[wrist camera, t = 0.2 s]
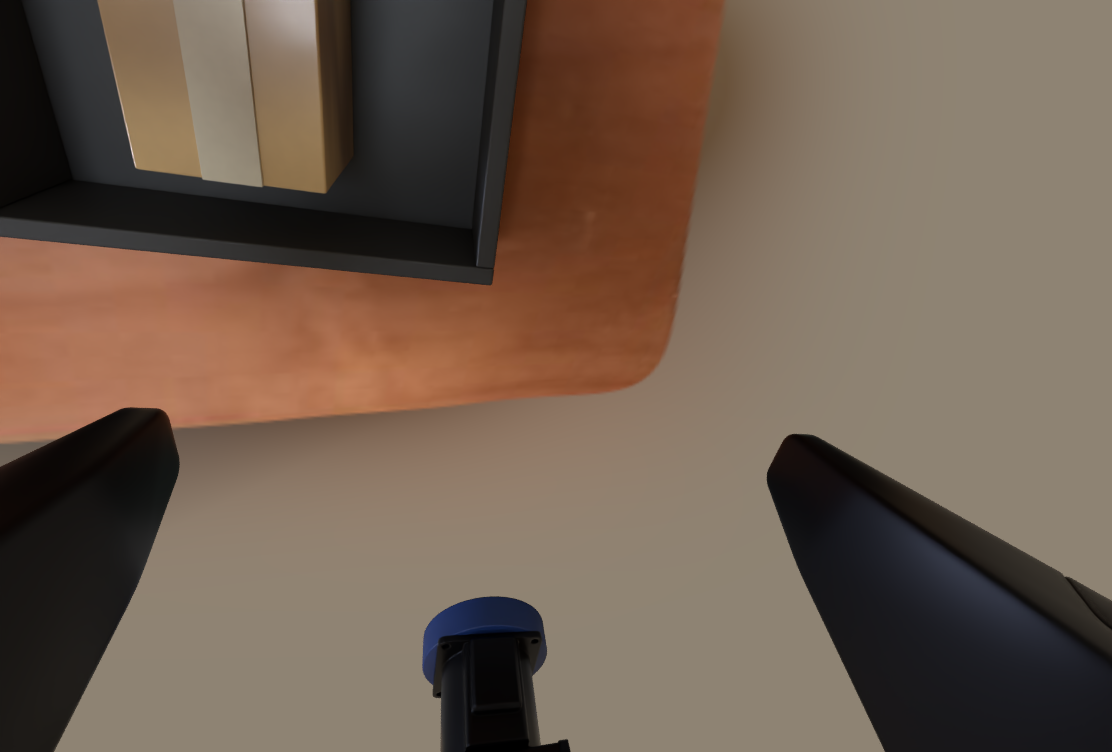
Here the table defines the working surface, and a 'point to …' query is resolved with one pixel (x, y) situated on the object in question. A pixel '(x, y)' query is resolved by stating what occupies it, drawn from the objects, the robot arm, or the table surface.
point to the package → (235, 88)
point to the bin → (269, 212)
